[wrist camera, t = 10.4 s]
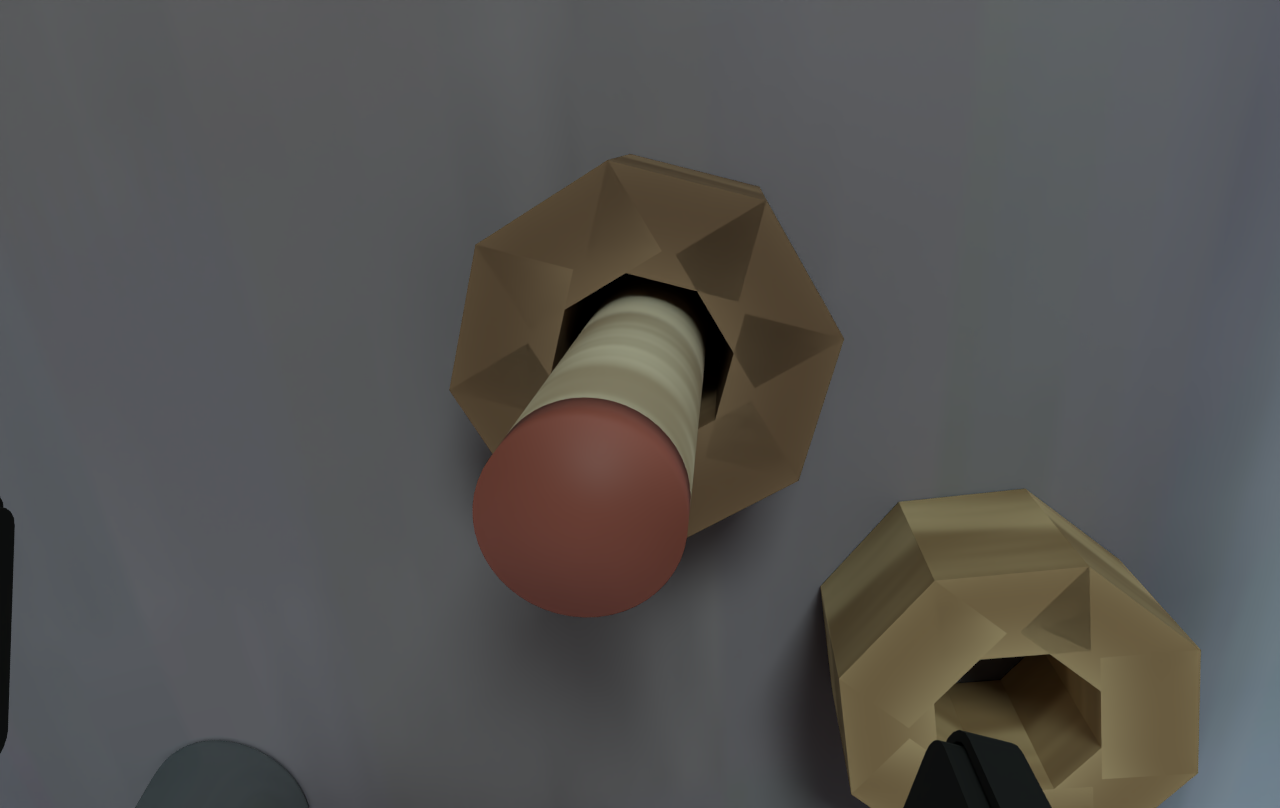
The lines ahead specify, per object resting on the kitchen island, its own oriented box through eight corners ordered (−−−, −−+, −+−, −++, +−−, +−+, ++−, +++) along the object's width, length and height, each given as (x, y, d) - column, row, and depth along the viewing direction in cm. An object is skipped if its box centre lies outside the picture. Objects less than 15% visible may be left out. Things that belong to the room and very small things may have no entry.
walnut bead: (762, 496, 28) (769, 572, 23) (483, 423, 28) (432, 484, 23) (850, 209, 25) (879, 229, 20) (539, 130, 25) (495, 131, 20)
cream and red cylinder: (693, 386, 27) (658, 640, 14) (590, 360, 27) (455, 587, 14) (720, 284, 26) (712, 450, 13) (614, 257, 26) (493, 393, 13)
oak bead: (1119, 734, 29) (1195, 853, 24) (838, 753, 30) (859, 870, 25) (1117, 478, 26) (1202, 556, 22) (811, 511, 28) (829, 590, 23)
